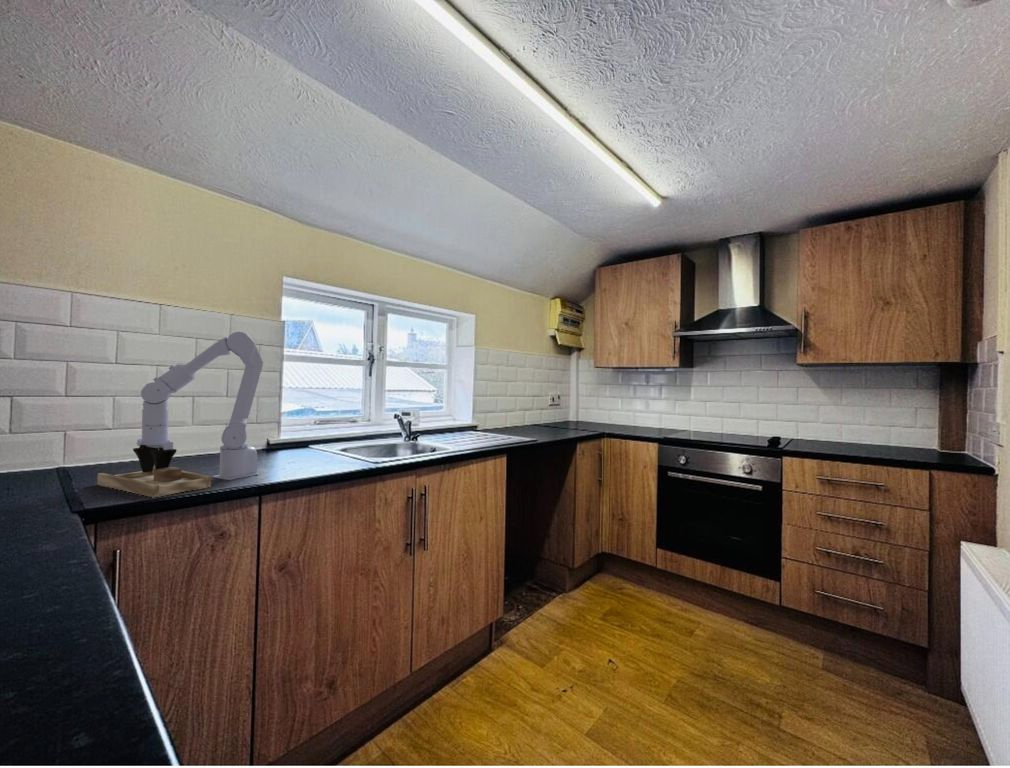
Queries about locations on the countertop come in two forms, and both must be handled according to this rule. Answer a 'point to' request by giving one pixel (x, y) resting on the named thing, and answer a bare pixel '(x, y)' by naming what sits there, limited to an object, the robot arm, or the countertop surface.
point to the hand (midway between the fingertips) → (154, 473)
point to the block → (167, 474)
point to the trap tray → (153, 483)
